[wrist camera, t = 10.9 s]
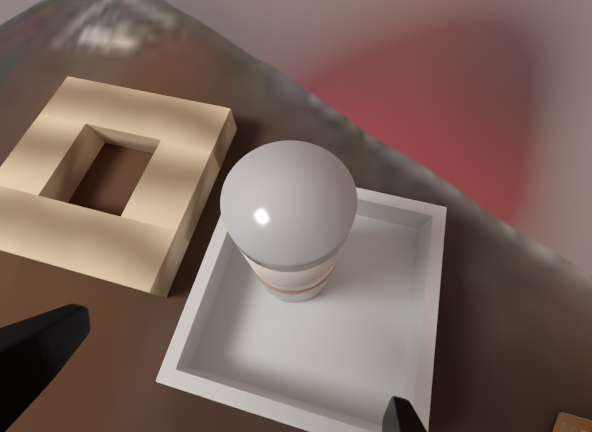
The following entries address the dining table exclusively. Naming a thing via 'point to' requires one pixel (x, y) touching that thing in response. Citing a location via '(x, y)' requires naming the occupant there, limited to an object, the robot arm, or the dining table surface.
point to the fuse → (290, 215)
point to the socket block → (145, 199)
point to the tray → (320, 326)
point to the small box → (572, 423)
